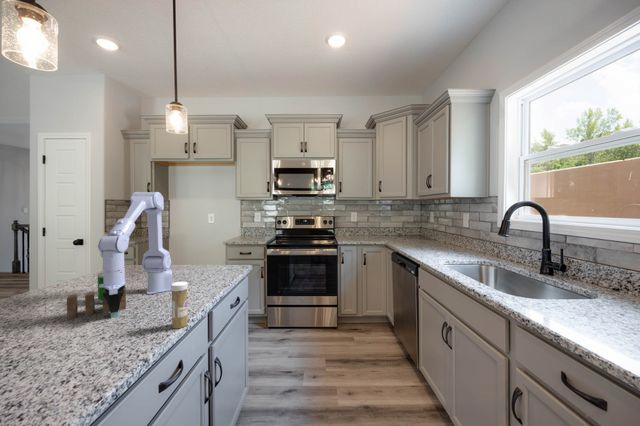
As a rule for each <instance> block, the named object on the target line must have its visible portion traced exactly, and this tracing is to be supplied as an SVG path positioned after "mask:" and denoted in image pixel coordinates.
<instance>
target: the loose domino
mask: <svg viewBox="0 0 640 426" xmlns="http://www.w3.org/2000/svg"><path fill="white" fill-rule="evenodd" d="M119 316H120V310H119V311H118V312H114V313H110V319H113V318H118V317H119Z"/></svg>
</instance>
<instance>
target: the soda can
mask: <svg viewBox="0 0 640 426" xmlns="http://www.w3.org/2000/svg"><path fill="white" fill-rule="evenodd" d="M100 284H104V281H103V270H102V271H100V272H99V273H98V274H97V300H98V301H97V302H99V303H101V304H102V305H103V302H102V293H103V290H105V288H103V287H101V288H99V285H100Z"/></svg>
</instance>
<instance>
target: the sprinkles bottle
mask: <svg viewBox="0 0 640 426" xmlns="http://www.w3.org/2000/svg"><path fill="white" fill-rule="evenodd" d="M188 284H189V283H188V281H176V282H173V284H171V318H172V319H171V327H172V329H181V328H184V327H186V326H187V325H188V324H189V322H188V314H189V312H188V311H189V309H188V306H189V305H188V288H189V286H188Z"/></svg>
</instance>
